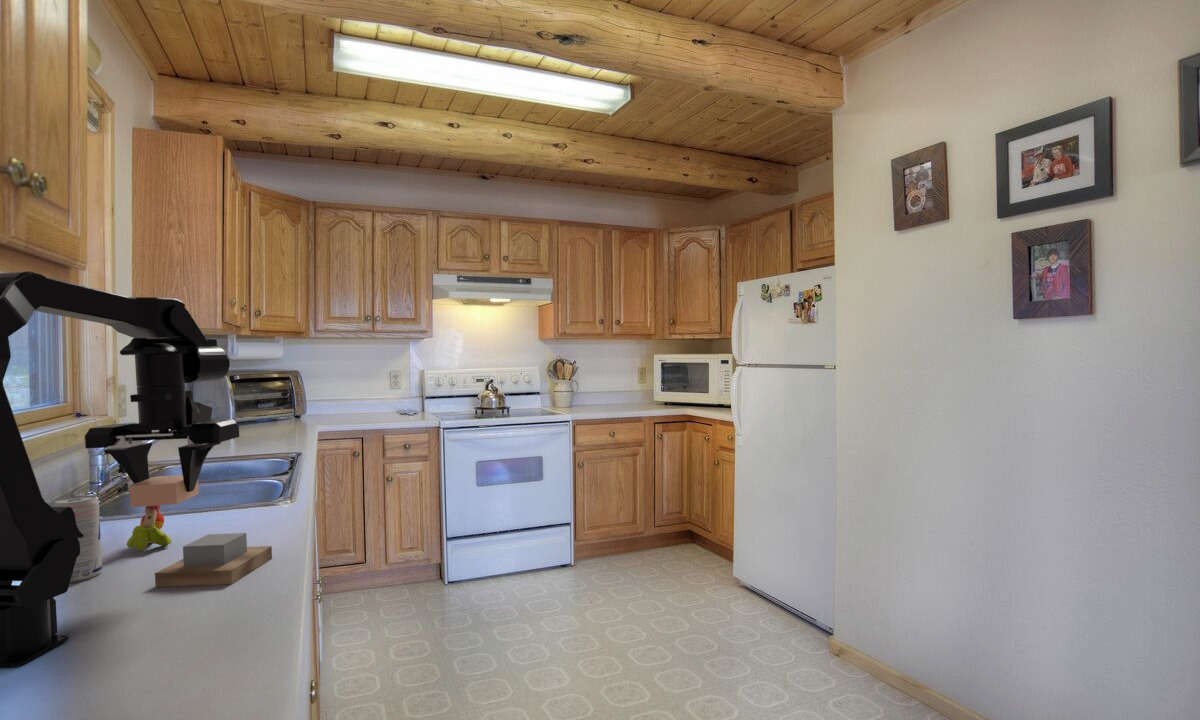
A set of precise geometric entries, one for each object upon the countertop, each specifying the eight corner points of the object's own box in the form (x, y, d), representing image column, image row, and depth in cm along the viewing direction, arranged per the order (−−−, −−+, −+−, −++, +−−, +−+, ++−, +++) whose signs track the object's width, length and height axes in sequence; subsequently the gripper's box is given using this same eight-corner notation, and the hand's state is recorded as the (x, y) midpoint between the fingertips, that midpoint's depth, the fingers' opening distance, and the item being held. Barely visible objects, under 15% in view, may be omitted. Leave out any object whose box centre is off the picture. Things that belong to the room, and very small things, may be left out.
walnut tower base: (231, 584, 88) (231, 570, 88) (155, 586, 88) (154, 573, 88) (272, 558, 99) (271, 546, 99) (204, 560, 99) (203, 548, 99)
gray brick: (224, 564, 91) (223, 544, 91) (183, 566, 91) (182, 546, 91) (247, 551, 97) (246, 532, 97) (208, 553, 97) (207, 534, 97)
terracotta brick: (176, 504, 86) (175, 483, 86) (130, 507, 85) (129, 485, 85) (198, 493, 92) (197, 474, 92) (155, 496, 91) (154, 476, 91)
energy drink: (97, 568, 97) (94, 493, 97) (106, 575, 94) (102, 497, 94) (52, 578, 93) (49, 500, 93) (60, 586, 90) (56, 505, 90)
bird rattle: (129, 558, 109) (125, 549, 102) (128, 497, 112) (125, 484, 105) (172, 551, 112) (171, 542, 105) (170, 492, 116) (169, 479, 109)
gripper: (256, 379, 97) (261, 477, 97) (136, 384, 96) (142, 482, 97) (213, 384, 86) (220, 494, 86) (78, 389, 85) (85, 500, 86)
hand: (167, 492), depth 89 cm, fingers closed on terracotta brick, 6 cm apart
